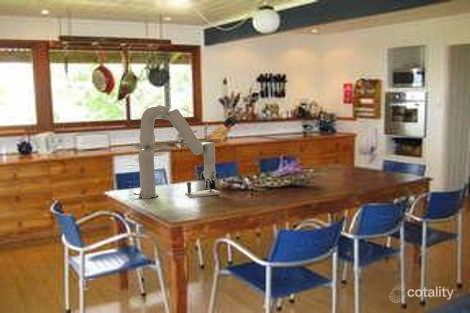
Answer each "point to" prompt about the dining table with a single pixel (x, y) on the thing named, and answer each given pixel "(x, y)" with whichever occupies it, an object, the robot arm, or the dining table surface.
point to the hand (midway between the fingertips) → (210, 187)
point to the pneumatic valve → (204, 177)
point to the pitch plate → (199, 192)
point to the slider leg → (209, 185)
